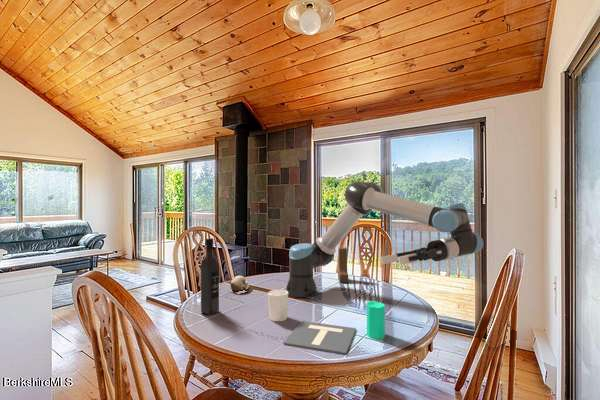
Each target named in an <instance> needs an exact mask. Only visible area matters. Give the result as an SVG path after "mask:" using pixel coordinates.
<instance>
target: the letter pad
mask: <svg viewBox="0 0 600 400" xmlns="http://www.w3.org/2000/svg"><path fill="white" fill-rule="evenodd" d="M356 331H357V328H356V327H349V326H343V325H334V324H327V323H320V322H313V321H305V320H301V322H300V323H299V324H298V325H297V326H296V327H295V328H294V329H293V331H292V332H291V333H290V334H289V335H288V337H287V338H286V339H285V340H284V341H283V345H284V344H285V345H286V346H290V345H291V347H298V348H304V349H309V350H310V349H311V350H317V351H321V352H329V353H334V354H341V355H347V353H348V350H349V349H350V346H351V343H352V341H353V339H354V335H355V333H356Z"/></svg>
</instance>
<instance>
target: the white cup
mask: <svg viewBox="0 0 600 400" xmlns="http://www.w3.org/2000/svg"><path fill="white" fill-rule="evenodd" d="M267 300H268V301H267V303H268V312H269V313H268V315H269V320H270V321H272V322H276V321H277V322H279V321H280V322H283V321H284V322H285V321H286V320H287V319H288V311H289V308H288V307H289V306H288V305H289V295H288V291H286V289H272V290H269V291H268V292H267ZM277 322H276V323H277Z"/></svg>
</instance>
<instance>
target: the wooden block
mask: <svg viewBox="0 0 600 400" xmlns="http://www.w3.org/2000/svg"><path fill="white" fill-rule="evenodd" d="M337 251H338V253H337V257H338V258H337V260H338V261H337V262H338V264H337V265H338V268H337V269H338V274H337V275H338V280H339V283H341V284H345V283H346V284H348V283H349V273H348V249H347V247H338V250H337Z"/></svg>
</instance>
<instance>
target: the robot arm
mask: <svg viewBox="0 0 600 400" xmlns="http://www.w3.org/2000/svg"><path fill="white" fill-rule="evenodd" d="M344 199H345V201H346V203H347V205H346V206H345V207H344V209H343V210H342V211H341V213H340V214H339V215H338V216H337V218H336V219H335V220H334V221H333V223H332V224H331V226H330V227H329V228H328V229H327V230H326V231H325V233H324V234H323V235H322V236H319V237H317V238H316V239H315V241H313V243H312V244H311V243H307V242H305V243H303V242H302V243H296V244H294V245H291V246H290V248H289V252H288V253H289V254H288V257H289V260H288V261H289V265H288V267H289V270H288V271H289V278H288V281H287V284H286V287H285V290H286V291H288V296H289V295H290V297H293V298H310V297H314V296H316V295H317V293H318V288H317V285H316V281H315V278H314V269H315V268H320V267H326V266H327V265H329V264H330V263H331V262H332V261H333V260H334V257H335V253H336V248H337V246H338V245H339V244H341V242H342V240H343V239H344V238H345V237H346V236H347V235H348V233H349V232H350V231H351V230H352V229H353V227H354V226H355V225H356V224H357V222H358V221H359V220H360V219H361V217H363V216H367V215H368V214H369V213H371V212H372V211H376V212H380V213H383V214H387V215H389V216H394V217H397V218H400V219H403V220H407V221H411V222H415V223H417V224H421V225H425V226H426V227H427V226H428V227H431V228H434V229H435V230H437V231H438V232H441V233H449V235H450V236H449V237H448V236H447V237H445V238H444V237H443V238H439V239H434V240H430V241H429V242H428V243H427V245H426V246H425V247H420V248H416V249H413V250H409V251H403V252H398V253H397V252H396V253H394V254H391V255H390V254H389V255H385V256H380V261H381V265H388V264H391V263H398V264H399V266H403V265H408V264H412V263H417V262H419V261H420V262H423V261H425V262H426V261H427V260H432V261H434V262H441V261H444V260H449V259H450V260H451V261H452V260H453V259H454V258H457V257H462V256H467V255H473V254H476V253H478V252H480V251H482V250H483V247H484V240H483V238H482V237H481V235H480V234H479V233H478V232H473V229H472V226H471V222H470V219H469V215H468V209H467V208H466V204H465V203H463V202H457V203H452V204H448V205H445V206H443V207H439V206H435V205H432V204H427V203H424V202H419V201H415V200H413V199H412V200H411V199H408V198H404V197H400V196H397V195H392V194H389V193H385V192H384V190H383V188H382V187H381V186H380V185H379V184H377V183H375V182H372V181H368V182H367V181H360V180H359V181H354V182H351V183H350V184H349V185H348V186H347V187H346V188H345V191H344Z"/></svg>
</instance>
